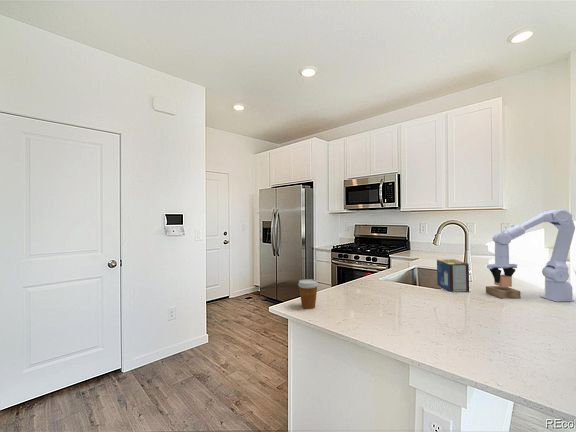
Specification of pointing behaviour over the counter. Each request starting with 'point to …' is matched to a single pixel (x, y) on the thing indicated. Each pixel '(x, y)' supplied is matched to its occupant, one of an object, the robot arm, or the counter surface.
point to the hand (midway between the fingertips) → (502, 282)
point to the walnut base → (503, 292)
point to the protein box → (453, 275)
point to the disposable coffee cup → (308, 293)
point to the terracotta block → (504, 281)
